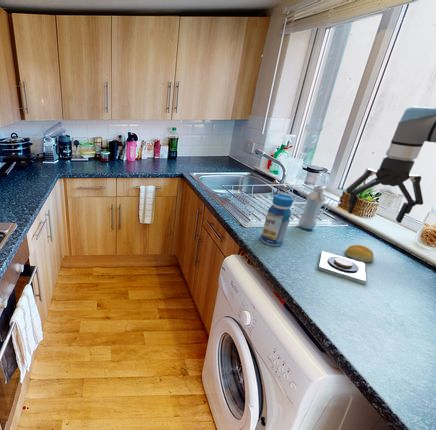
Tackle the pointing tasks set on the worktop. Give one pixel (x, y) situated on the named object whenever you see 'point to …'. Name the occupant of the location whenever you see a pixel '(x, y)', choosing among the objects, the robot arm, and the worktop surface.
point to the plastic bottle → (312, 208)
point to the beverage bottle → (277, 220)
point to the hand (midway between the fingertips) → (373, 216)
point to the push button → (342, 267)
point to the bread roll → (360, 253)
